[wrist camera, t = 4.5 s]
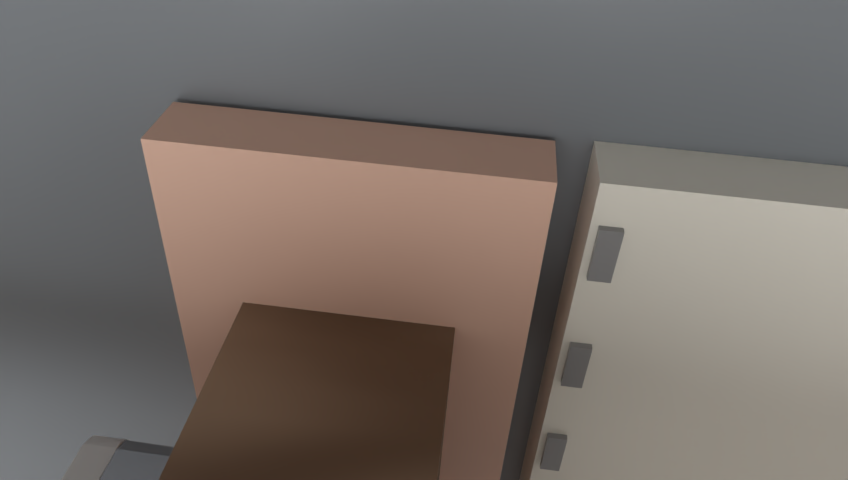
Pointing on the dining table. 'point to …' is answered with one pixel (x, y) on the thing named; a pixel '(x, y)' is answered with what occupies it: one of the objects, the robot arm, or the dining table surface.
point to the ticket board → (481, 113)
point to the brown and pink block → (347, 291)
